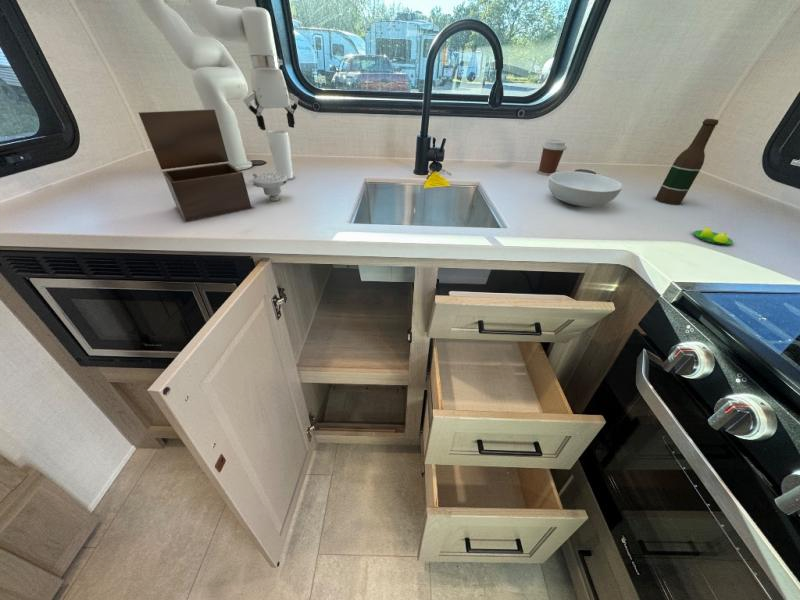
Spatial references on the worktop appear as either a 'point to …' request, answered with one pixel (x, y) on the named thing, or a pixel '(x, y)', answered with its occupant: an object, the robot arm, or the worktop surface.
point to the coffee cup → (551, 156)
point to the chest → (208, 190)
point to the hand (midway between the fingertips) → (277, 128)
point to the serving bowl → (583, 188)
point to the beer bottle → (686, 167)
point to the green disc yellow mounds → (713, 236)
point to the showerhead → (270, 184)
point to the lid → (184, 137)
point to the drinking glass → (281, 152)
